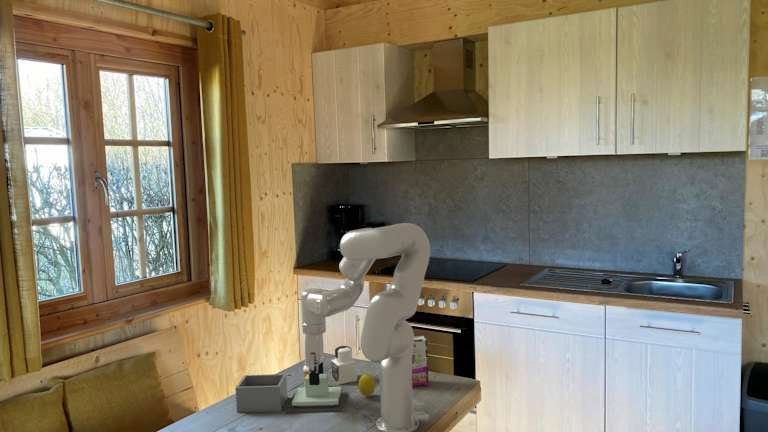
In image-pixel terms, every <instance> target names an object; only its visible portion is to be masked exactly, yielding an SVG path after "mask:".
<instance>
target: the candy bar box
mask: <svg viewBox="0 0 768 432" xmlns="http://www.w3.org/2000/svg"><path fill="white" fill-rule="evenodd" d="M423 386H429V365H428V341H427V338H426V337H425V335H420V336H419V335H417V336H415V335H414V345H413V352H412V388H413V387H423Z"/></svg>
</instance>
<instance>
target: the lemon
mask: <svg viewBox="0 0 768 432" xmlns="http://www.w3.org/2000/svg"><path fill="white" fill-rule="evenodd" d="M375 389H376V381H375V379H374V377H373V376H372V375H371V374H369V373H365V374H363V375H361V376H360V378H359V380H358V390H359V392H360V393H361V395H362V396H365V397H366V398H368V397H370V396H371V395H372V394H374V392H375Z"/></svg>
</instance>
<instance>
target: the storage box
mask: <svg viewBox="0 0 768 432" xmlns="http://www.w3.org/2000/svg"><path fill="white" fill-rule="evenodd" d="M287 381H288V380H287V374H286V373H278V374H274V373H272V374H245V375H244V376H242V378H241V380H240V381H239V382H238V384H237V385H236V387H235V398H236V401H235V403H236V412H237V413H250V412H251V413H256V412H257V413H258V412H259V413H261V412H281V411H282V410H283V407H284V406H285V404H286V401H287V399H288V382H287Z"/></svg>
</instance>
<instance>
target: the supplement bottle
mask: <svg viewBox="0 0 768 432" xmlns="http://www.w3.org/2000/svg"><path fill="white" fill-rule="evenodd" d="M314 363H316V362H314ZM309 364H310V362H309ZM309 364H308V365H306V364H305V363H304V366H303V370H302V371H303V373H302V374H303V388H305V377H306V375H307V374H309Z"/></svg>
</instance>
